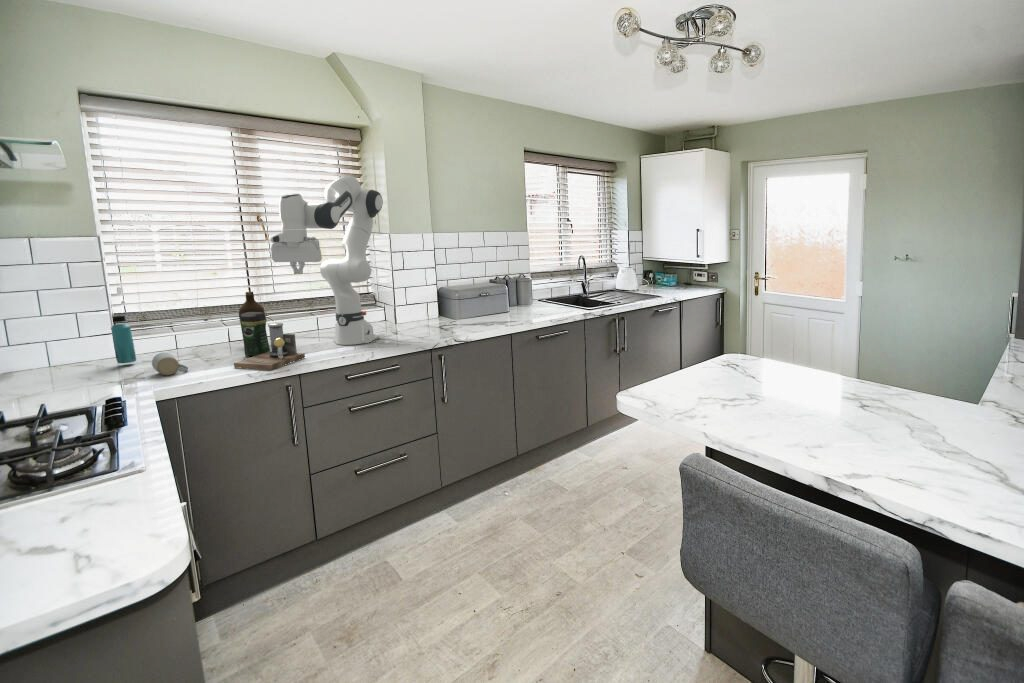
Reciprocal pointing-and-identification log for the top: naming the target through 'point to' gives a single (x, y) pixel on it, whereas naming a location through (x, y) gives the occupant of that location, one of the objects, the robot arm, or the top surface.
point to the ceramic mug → (167, 364)
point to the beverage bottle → (123, 341)
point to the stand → (272, 363)
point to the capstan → (277, 340)
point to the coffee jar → (254, 333)
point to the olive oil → (249, 306)
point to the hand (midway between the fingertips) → (298, 274)
